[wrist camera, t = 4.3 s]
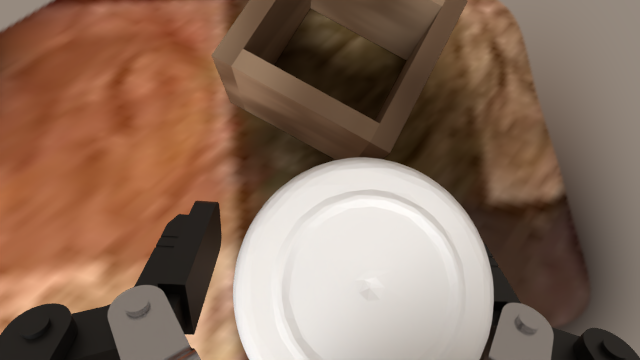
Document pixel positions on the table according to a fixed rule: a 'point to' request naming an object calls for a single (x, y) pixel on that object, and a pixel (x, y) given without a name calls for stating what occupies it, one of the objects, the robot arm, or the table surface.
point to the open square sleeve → (308, 102)
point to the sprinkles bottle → (363, 269)
